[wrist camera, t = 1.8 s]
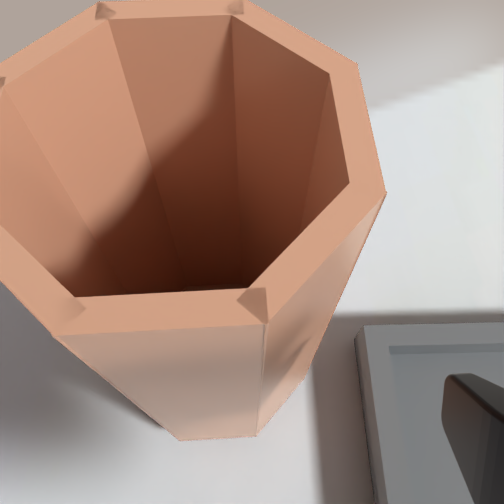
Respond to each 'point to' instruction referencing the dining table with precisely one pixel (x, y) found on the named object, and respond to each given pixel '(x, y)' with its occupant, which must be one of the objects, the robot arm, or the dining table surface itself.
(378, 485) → the tray
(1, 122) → the cup
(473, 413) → the robot arm
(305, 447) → the dining table surface
